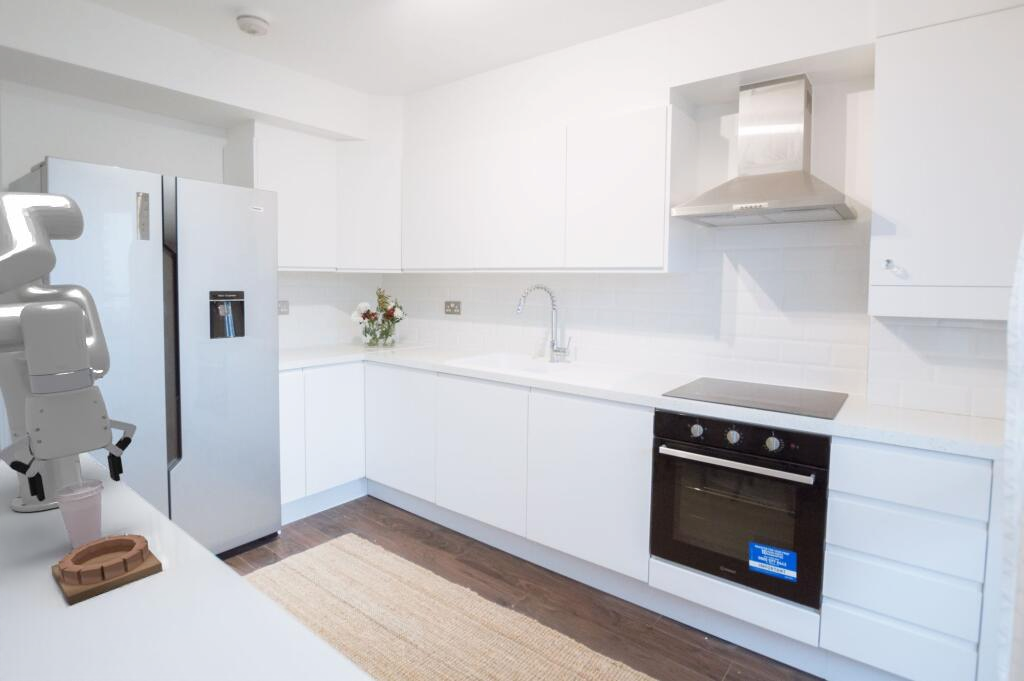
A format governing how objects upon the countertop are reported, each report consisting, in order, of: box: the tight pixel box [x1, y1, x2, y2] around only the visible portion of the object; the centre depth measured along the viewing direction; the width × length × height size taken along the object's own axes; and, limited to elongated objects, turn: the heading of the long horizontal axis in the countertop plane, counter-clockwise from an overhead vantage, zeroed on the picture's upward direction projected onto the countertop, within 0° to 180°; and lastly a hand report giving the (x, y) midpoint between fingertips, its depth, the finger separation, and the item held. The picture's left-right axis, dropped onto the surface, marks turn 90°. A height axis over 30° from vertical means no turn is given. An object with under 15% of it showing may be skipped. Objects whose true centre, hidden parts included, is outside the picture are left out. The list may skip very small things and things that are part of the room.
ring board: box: [51, 533, 163, 606], centre depth 84 cm, size 12×11×3 cm
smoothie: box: [54, 460, 104, 550], centre depth 92 cm, size 6×6×14 cm
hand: (79, 488), depth 91 cm, fingers open, 9 cm apart
